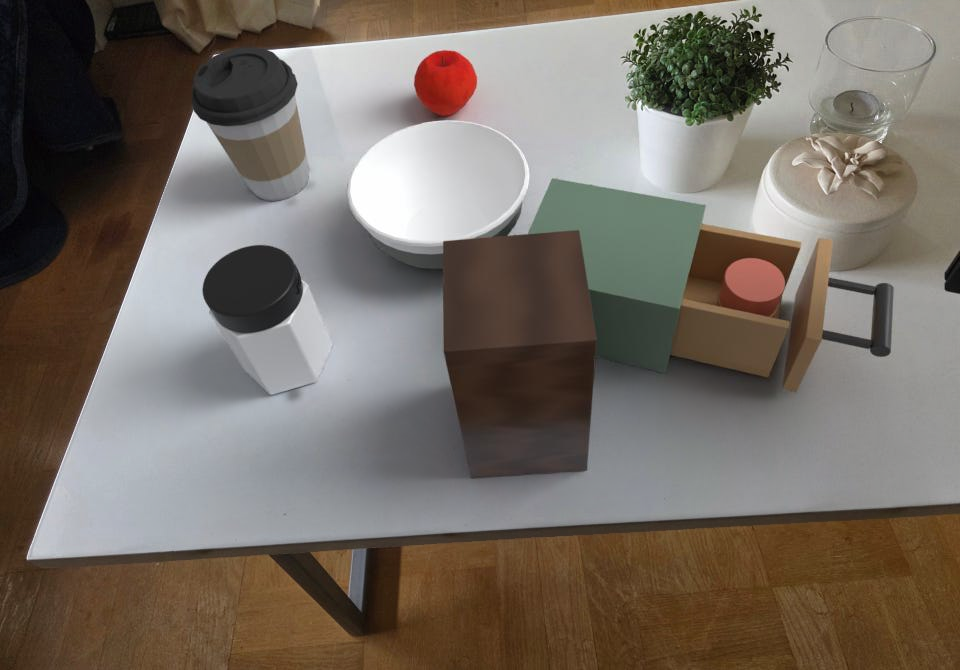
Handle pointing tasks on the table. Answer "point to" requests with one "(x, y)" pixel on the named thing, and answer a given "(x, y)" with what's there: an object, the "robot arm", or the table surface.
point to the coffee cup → (254, 118)
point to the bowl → (437, 188)
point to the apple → (445, 82)
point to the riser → (520, 351)
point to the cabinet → (628, 263)
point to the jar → (268, 317)
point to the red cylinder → (752, 287)
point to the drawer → (760, 337)
